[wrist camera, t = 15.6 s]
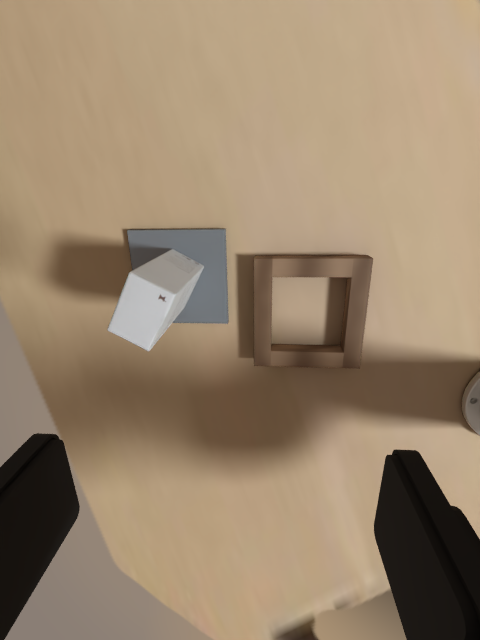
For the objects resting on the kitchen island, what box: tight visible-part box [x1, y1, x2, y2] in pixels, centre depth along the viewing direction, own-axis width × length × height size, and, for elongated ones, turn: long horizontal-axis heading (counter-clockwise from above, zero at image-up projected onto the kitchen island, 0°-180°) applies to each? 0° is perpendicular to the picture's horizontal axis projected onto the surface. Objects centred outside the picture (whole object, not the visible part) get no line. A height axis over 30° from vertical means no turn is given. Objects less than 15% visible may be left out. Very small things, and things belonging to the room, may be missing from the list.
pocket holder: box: [254, 255, 373, 368], centre depth 38 cm, size 12×13×2 cm
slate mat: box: [127, 229, 228, 324], centre depth 39 cm, size 11×11×1 cm
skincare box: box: [107, 249, 204, 351], centre depth 33 cm, size 6×4×12 cm
